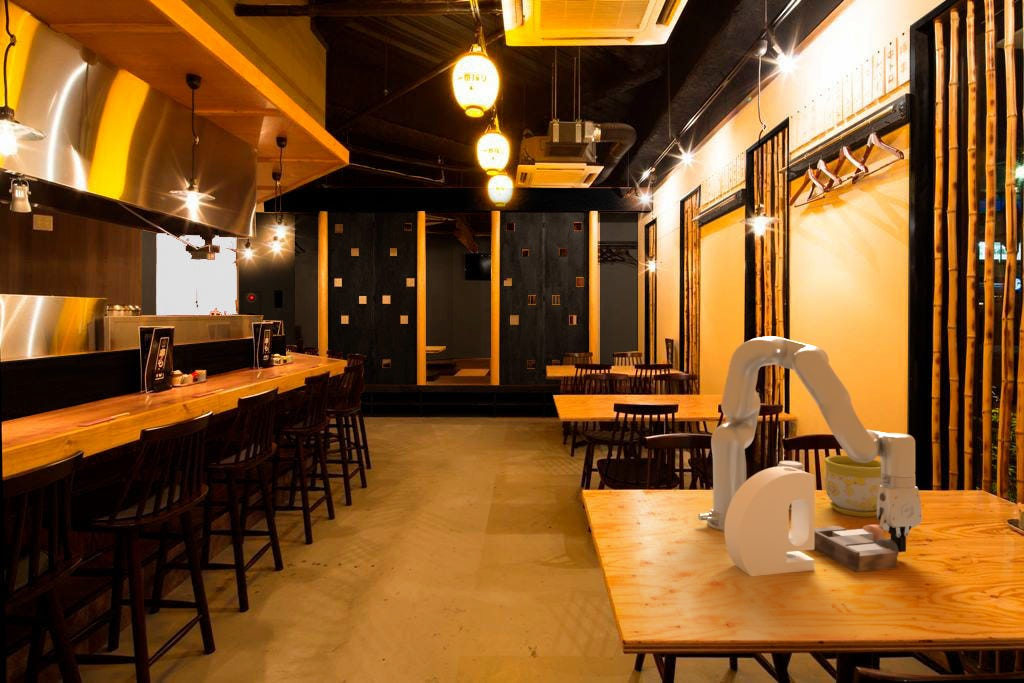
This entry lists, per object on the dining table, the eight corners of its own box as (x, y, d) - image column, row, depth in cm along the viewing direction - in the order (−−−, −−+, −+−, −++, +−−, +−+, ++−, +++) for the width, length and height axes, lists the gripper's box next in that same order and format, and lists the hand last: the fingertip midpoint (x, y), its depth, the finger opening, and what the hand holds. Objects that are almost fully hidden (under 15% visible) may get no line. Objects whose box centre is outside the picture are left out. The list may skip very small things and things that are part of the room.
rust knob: (843, 548, 160) (843, 531, 160) (830, 542, 165) (830, 525, 165) (884, 544, 163) (884, 527, 163) (870, 538, 167) (870, 522, 167)
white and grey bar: (854, 565, 149) (855, 546, 149) (840, 558, 154) (841, 539, 154) (898, 560, 152) (898, 542, 152) (883, 553, 157) (883, 536, 156)
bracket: (814, 570, 148) (815, 471, 147) (739, 577, 144) (739, 476, 143) (796, 560, 155) (797, 465, 154) (724, 566, 151) (724, 469, 150)
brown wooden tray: (855, 572, 146) (856, 552, 146) (801, 542, 166) (801, 525, 166) (896, 568, 149) (897, 548, 149) (838, 539, 168) (838, 522, 168)
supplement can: (808, 510, 194) (809, 465, 193) (783, 510, 194) (783, 465, 193) (797, 503, 202) (797, 460, 201) (773, 503, 202) (773, 460, 202)
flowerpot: (811, 506, 198) (812, 458, 198) (848, 499, 205) (849, 453, 205) (862, 523, 182) (862, 470, 181) (900, 515, 189) (900, 464, 188)
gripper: (885, 486, 149) (886, 558, 149) (934, 482, 152) (934, 552, 152) (862, 479, 156) (862, 547, 157) (909, 475, 159) (909, 542, 160)
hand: (898, 550), depth 155 cm, fingers closed
